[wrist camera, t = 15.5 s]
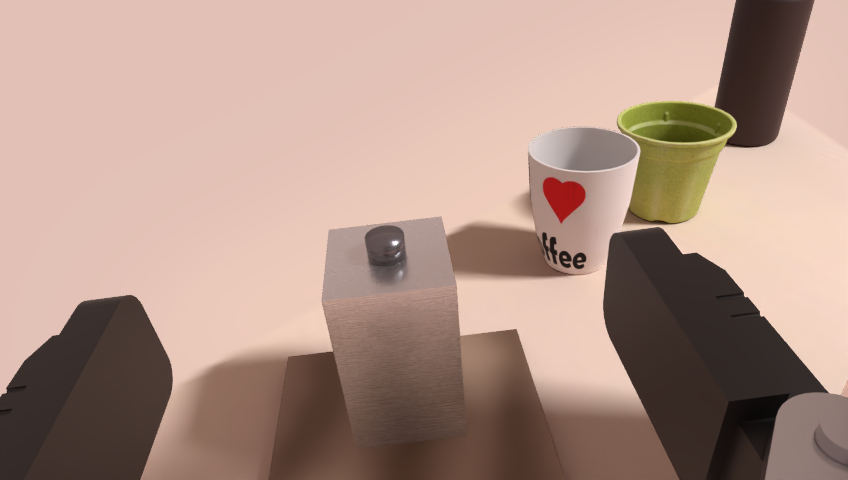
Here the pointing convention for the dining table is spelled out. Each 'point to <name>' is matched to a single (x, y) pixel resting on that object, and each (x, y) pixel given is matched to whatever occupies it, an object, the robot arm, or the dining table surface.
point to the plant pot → (674, 155)
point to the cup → (580, 193)
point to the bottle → (761, 66)
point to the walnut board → (425, 460)
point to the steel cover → (395, 331)
